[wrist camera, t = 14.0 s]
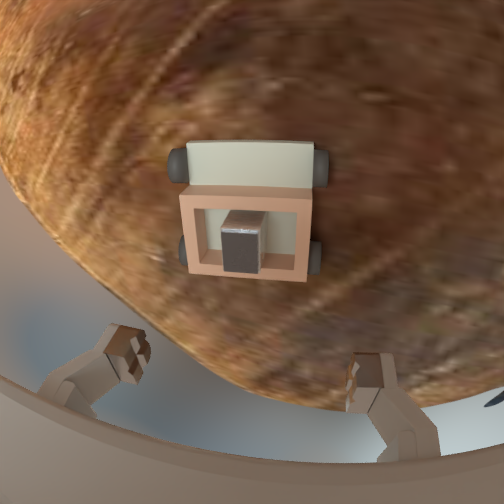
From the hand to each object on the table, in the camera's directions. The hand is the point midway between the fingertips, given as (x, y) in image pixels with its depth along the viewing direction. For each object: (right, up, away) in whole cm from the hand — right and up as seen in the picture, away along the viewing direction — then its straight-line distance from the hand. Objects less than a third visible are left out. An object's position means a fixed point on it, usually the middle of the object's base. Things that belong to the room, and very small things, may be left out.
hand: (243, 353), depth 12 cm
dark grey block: (0, +7, +26) cm, 27 cm away
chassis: (0, +9, +27) cm, 28 cm away
